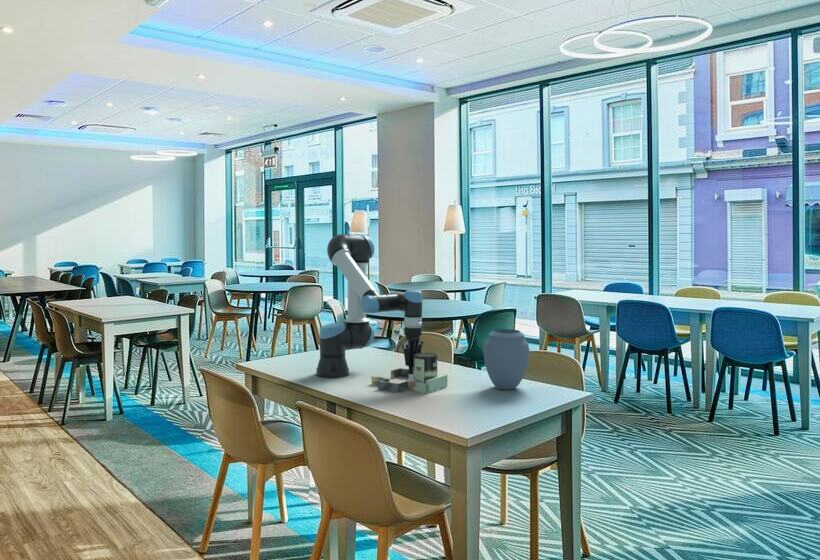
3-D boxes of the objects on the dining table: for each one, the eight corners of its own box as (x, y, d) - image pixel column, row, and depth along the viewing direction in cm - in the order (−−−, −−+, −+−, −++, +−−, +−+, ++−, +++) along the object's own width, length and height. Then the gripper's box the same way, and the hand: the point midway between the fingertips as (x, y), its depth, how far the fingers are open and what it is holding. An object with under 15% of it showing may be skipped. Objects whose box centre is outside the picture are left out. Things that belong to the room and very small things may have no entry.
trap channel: (362, 386, 279) (362, 378, 279) (400, 375, 302) (400, 367, 302) (409, 394, 266) (409, 386, 266) (445, 382, 289) (445, 374, 289)
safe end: (417, 391, 271) (417, 379, 271) (437, 384, 284) (437, 373, 283) (428, 393, 268) (428, 381, 268) (447, 386, 281) (447, 374, 281)
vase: (524, 395, 265) (525, 335, 264) (477, 391, 272) (478, 332, 271) (532, 385, 284) (533, 329, 282) (488, 381, 290) (489, 326, 289)
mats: (366, 386, 280) (366, 386, 280) (400, 376, 301) (400, 375, 301) (398, 391, 270) (398, 391, 270) (431, 380, 291) (431, 380, 291)
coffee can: (439, 385, 282) (439, 352, 281) (435, 390, 272) (435, 357, 271) (415, 384, 284) (415, 352, 283) (411, 389, 274) (411, 356, 273)
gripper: (411, 329, 272) (411, 385, 274) (428, 325, 283) (427, 379, 285) (397, 327, 277) (396, 382, 278) (414, 324, 287) (413, 377, 289)
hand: (412, 381), depth 282 cm, fingers closed
